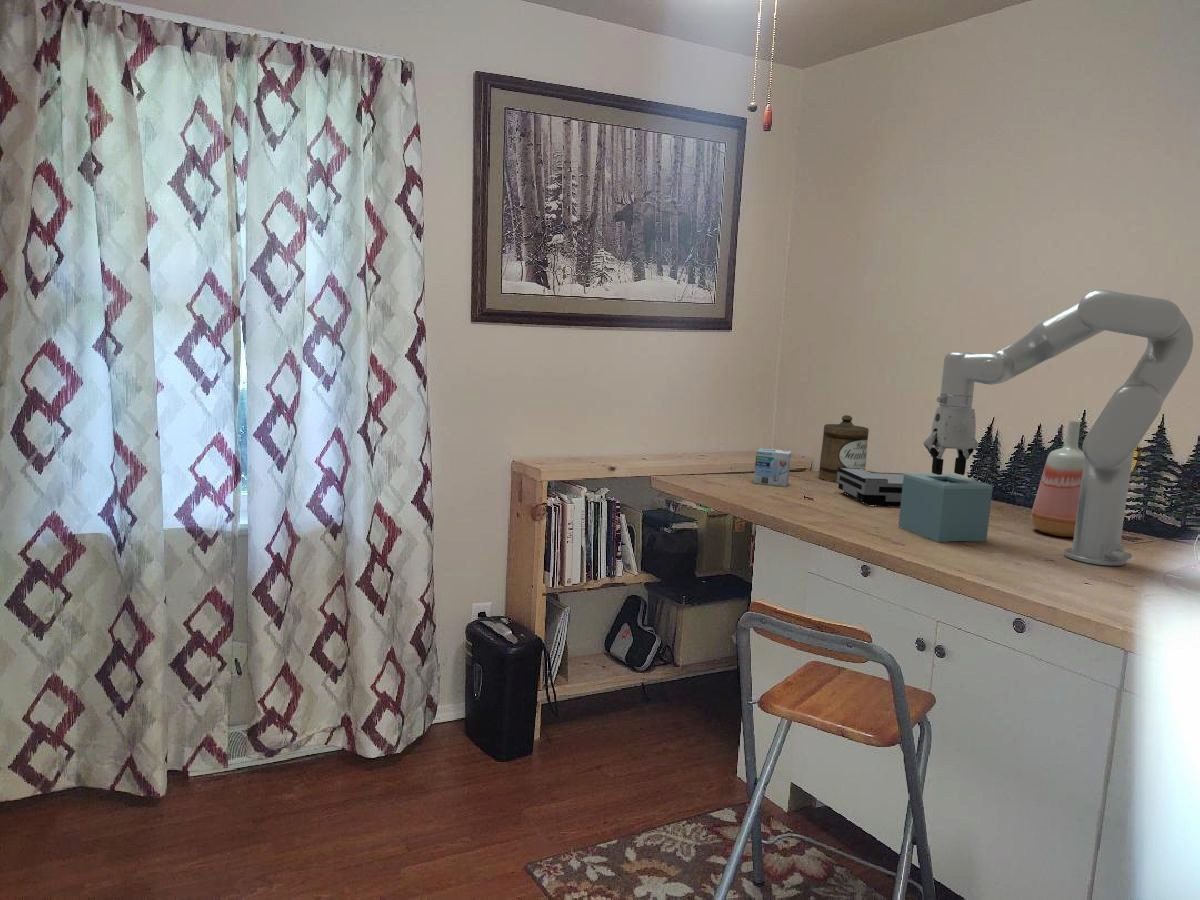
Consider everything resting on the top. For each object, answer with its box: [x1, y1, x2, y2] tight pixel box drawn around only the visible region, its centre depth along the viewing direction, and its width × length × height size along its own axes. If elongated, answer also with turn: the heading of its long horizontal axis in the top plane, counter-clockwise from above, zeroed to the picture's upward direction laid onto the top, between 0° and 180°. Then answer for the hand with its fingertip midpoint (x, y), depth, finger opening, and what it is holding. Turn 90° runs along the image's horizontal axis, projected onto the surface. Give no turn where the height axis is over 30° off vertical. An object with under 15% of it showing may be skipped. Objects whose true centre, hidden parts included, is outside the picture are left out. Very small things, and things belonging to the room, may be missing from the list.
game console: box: [836, 467, 905, 507], centre depth 269 cm, size 21×32×8 cm, turn 97°
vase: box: [1030, 420, 1085, 538], centre depth 231 cm, size 14×14×30 cm
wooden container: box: [818, 414, 869, 483], centre depth 301 cm, size 15×15×22 cm
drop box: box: [898, 473, 994, 543], centre depth 224 cm, size 16×14×14 cm
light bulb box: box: [753, 447, 792, 488], centre depth 286 cm, size 11×7×11 cm, turn 73°
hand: (948, 473), depth 223 cm, fingers open, 6 cm apart
